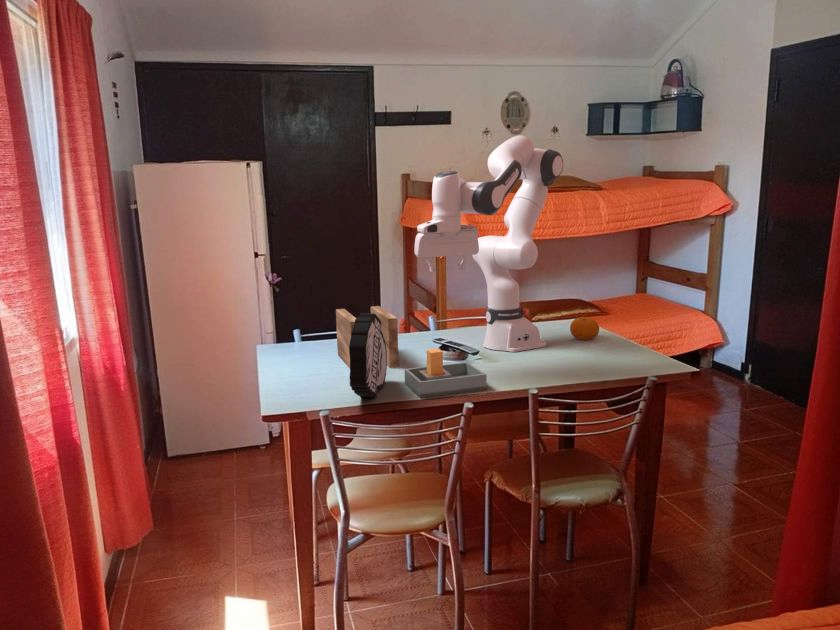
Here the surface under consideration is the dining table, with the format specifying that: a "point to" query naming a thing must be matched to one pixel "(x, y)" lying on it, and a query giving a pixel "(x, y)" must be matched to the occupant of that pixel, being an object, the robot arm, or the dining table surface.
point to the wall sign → (367, 356)
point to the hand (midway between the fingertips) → (447, 270)
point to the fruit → (584, 328)
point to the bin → (447, 380)
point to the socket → (425, 377)
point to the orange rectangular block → (434, 362)
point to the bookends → (387, 327)
